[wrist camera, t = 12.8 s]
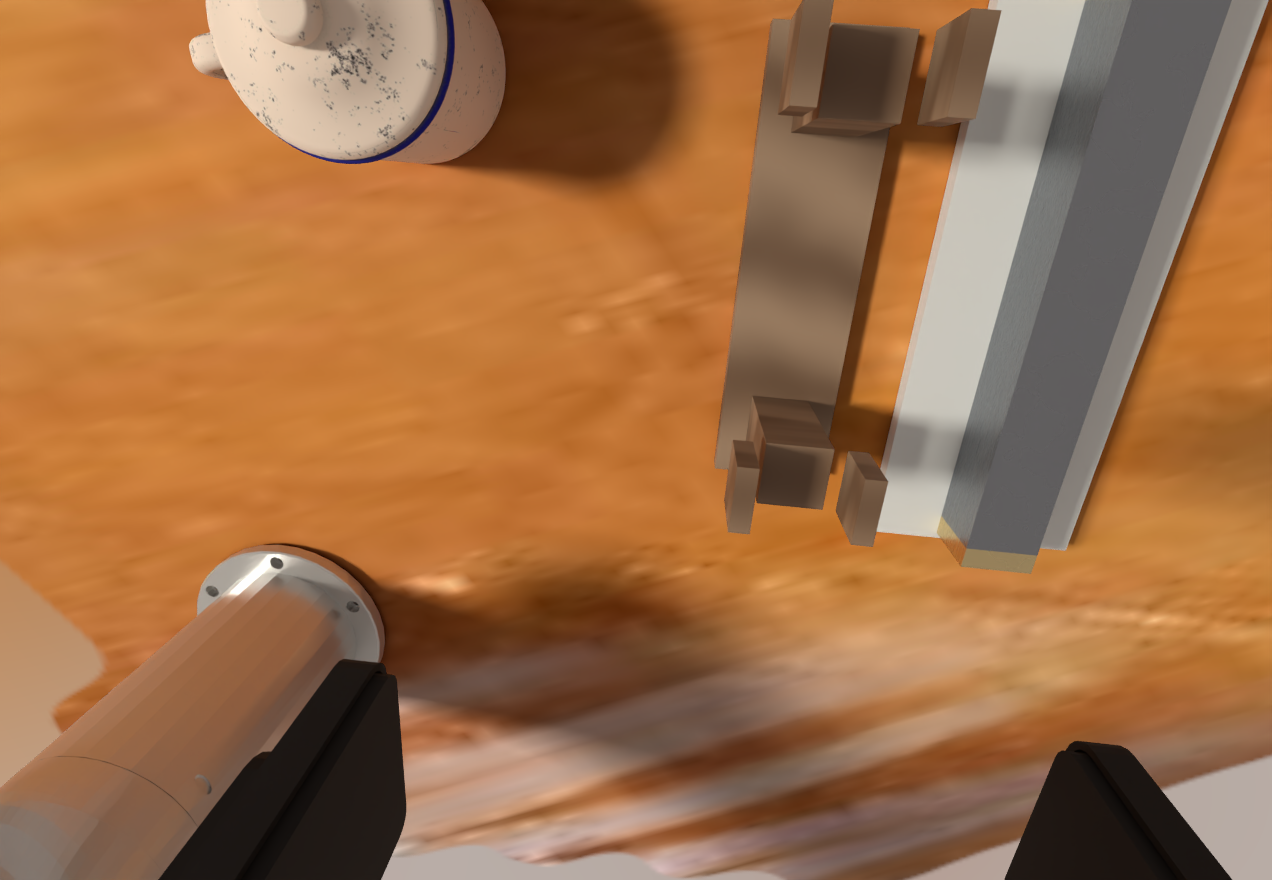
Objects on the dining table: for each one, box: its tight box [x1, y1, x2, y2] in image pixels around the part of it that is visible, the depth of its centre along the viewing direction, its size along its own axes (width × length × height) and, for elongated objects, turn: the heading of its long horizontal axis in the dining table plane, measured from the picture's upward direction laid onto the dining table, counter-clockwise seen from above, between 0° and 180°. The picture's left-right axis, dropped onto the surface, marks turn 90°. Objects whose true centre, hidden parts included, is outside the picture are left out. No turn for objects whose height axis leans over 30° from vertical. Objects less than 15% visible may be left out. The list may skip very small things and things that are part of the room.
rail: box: [937, 0, 1232, 574], centre depth 31 cm, size 27×4×4 cm, turn 176°
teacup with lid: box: [189, 0, 506, 164], centre depth 26 cm, size 12×9×12 cm
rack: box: [714, 0, 1002, 547], centre depth 29 cm, size 22×6×11 cm, turn 176°
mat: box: [876, 0, 1268, 551], centre depth 33 cm, size 28×11×1 cm, turn 176°
